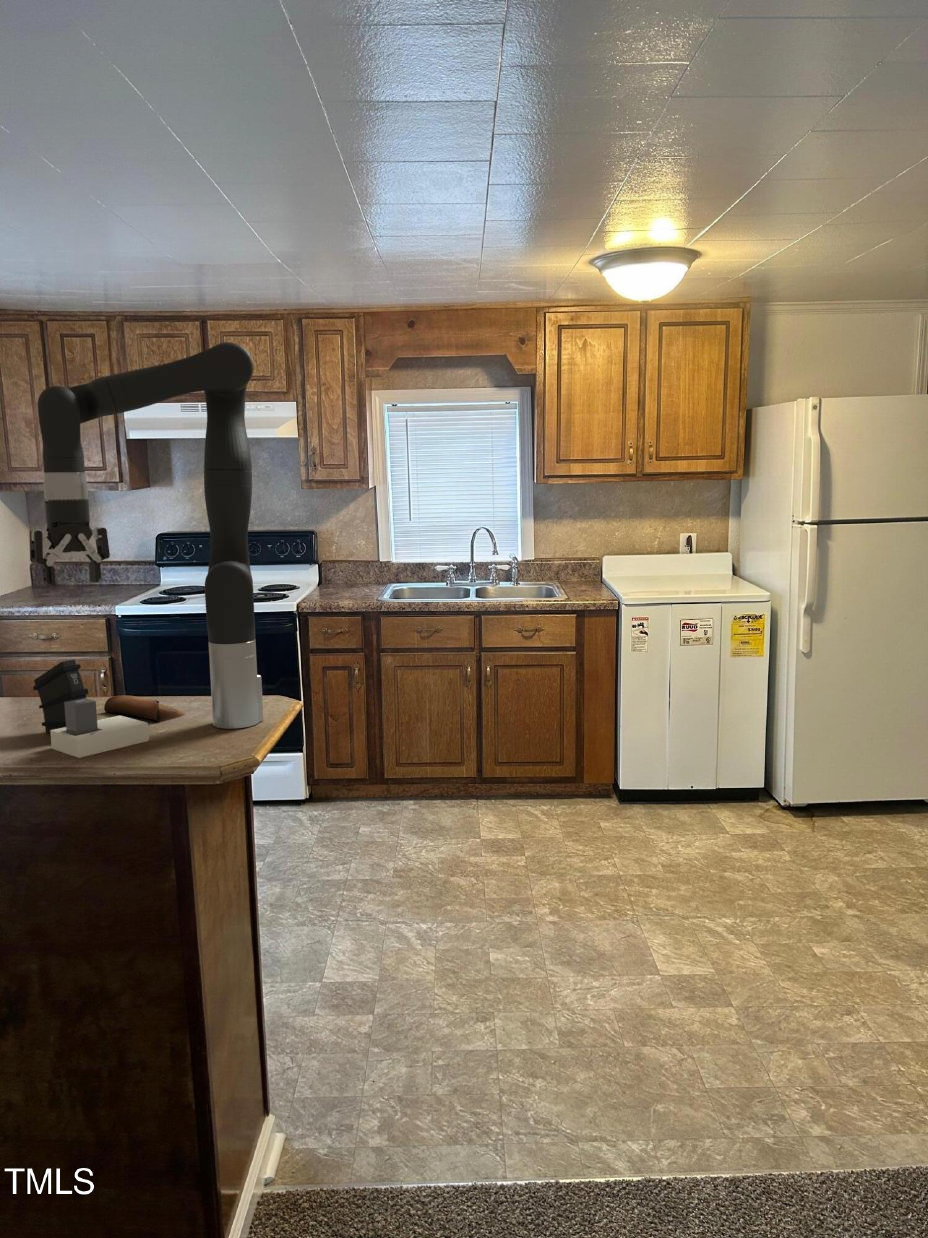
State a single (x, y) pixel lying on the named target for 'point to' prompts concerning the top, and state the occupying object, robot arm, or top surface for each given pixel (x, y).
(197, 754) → the top surface
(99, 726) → the switch board
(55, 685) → the magazine
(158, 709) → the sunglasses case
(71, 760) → the top surface
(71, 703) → the grey rectangular block
